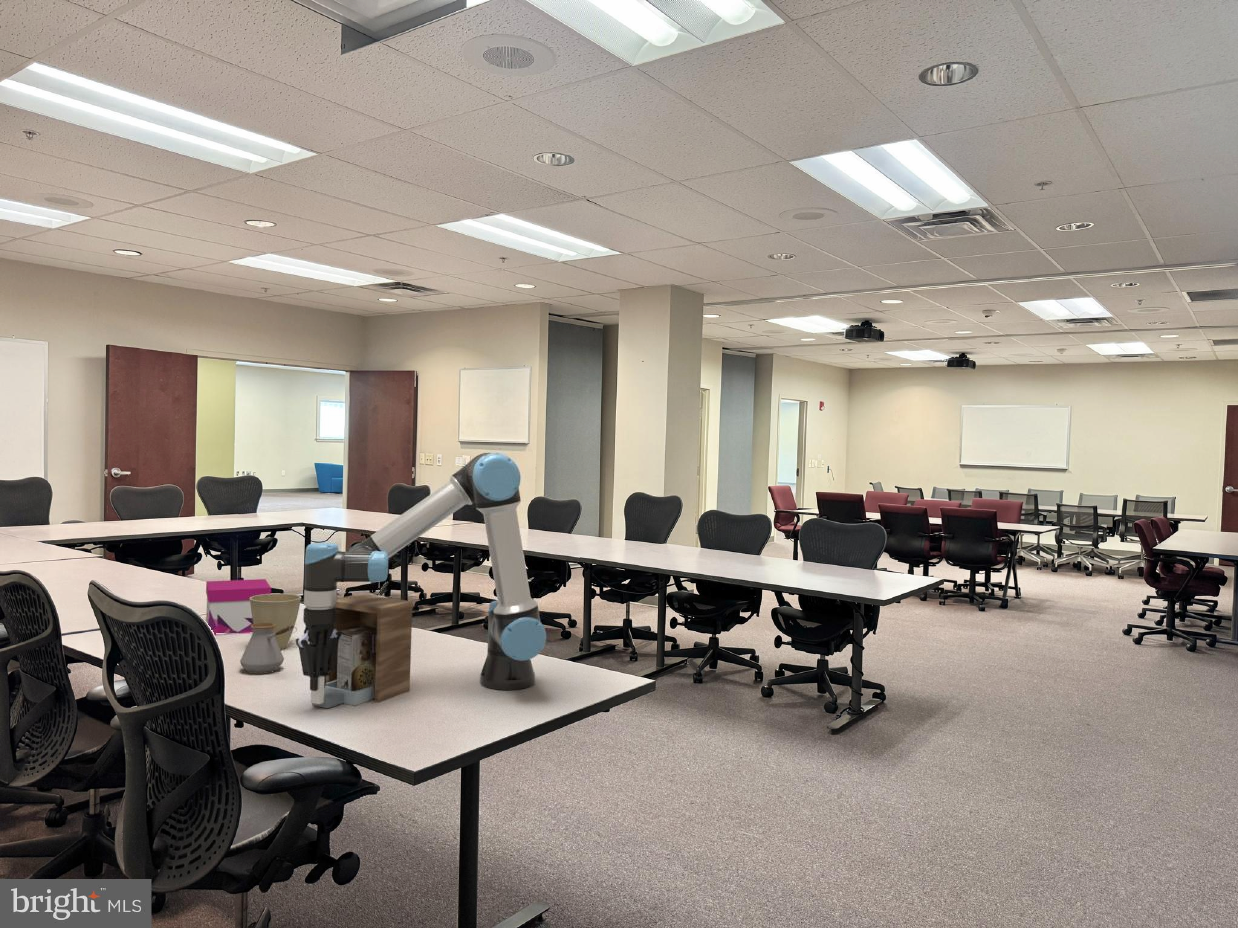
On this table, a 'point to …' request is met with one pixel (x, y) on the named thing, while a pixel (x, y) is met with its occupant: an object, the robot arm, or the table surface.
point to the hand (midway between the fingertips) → (317, 702)
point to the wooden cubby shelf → (381, 639)
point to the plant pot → (276, 613)
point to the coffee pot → (263, 649)
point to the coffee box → (357, 658)
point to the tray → (345, 695)
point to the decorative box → (232, 604)
